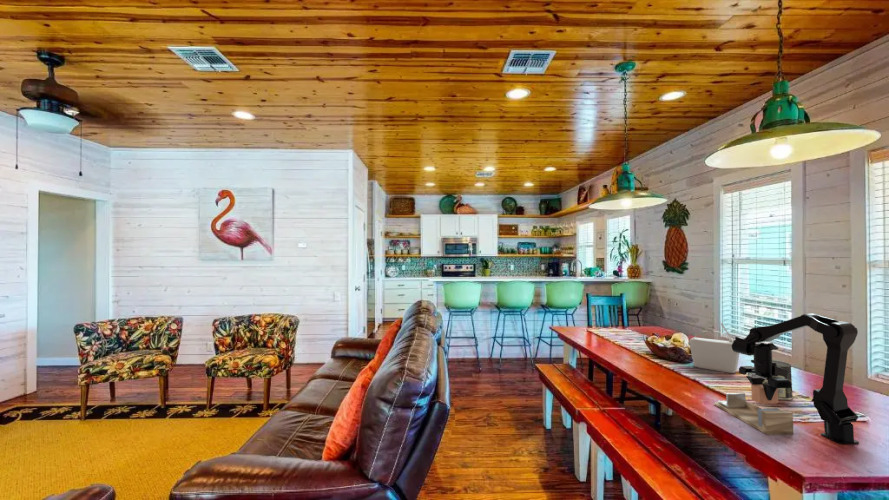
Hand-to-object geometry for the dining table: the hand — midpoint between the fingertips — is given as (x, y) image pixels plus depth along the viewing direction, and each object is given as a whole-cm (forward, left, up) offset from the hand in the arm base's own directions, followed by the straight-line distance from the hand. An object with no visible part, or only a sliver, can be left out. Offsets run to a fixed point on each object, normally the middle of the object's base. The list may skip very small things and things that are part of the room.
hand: (764, 398), depth 146 cm
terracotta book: (0, 0, -1) cm, 1 cm away
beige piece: (-5, +10, -5) cm, 12 cm away
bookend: (+4, +10, -4) cm, 12 cm away
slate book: (-15, +10, -5) cm, 19 cm away
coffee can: (+16, -18, -6) cm, 25 cm away
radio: (+54, -18, -6) cm, 57 cm away
